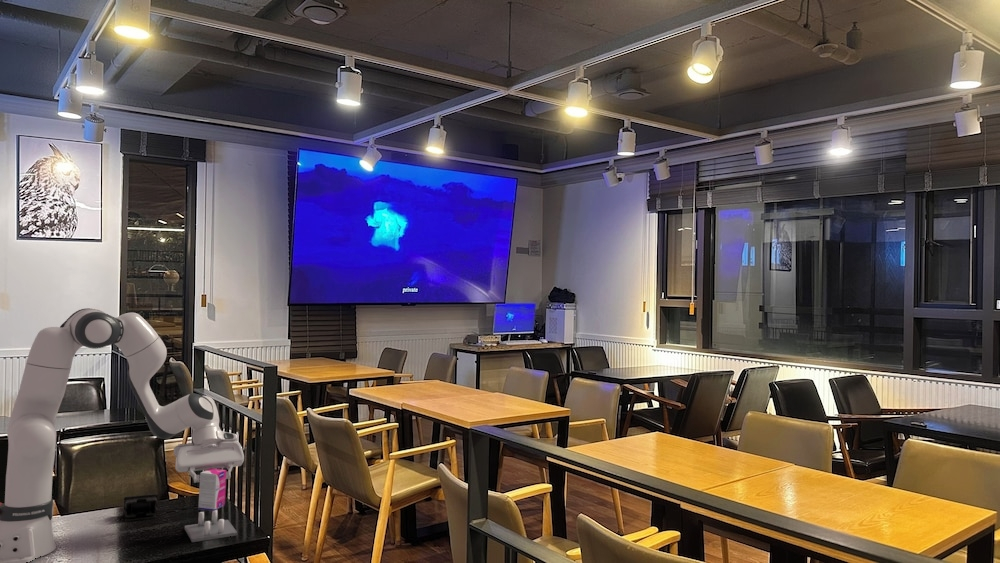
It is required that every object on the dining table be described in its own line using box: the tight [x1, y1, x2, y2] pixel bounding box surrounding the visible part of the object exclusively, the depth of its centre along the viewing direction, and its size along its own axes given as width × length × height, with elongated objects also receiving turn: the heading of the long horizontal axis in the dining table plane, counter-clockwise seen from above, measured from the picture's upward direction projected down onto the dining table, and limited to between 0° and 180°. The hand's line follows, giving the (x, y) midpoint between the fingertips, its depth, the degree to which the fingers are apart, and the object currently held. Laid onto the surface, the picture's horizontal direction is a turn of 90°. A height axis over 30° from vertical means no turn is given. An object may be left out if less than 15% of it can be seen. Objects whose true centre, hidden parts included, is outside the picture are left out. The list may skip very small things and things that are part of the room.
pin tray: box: [184, 509, 238, 543], centre depth 221 cm, size 13×13×5 cm
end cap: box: [122, 493, 159, 522], centre depth 233 cm, size 10×7×7 cm
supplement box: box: [198, 468, 227, 512], centre depth 221 cm, size 6×6×12 cm
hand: (212, 479), depth 221 cm, fingers closed on supplement box, 8 cm apart
